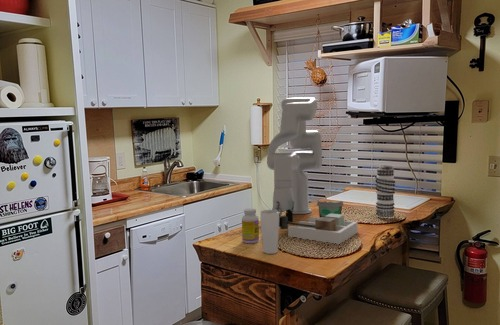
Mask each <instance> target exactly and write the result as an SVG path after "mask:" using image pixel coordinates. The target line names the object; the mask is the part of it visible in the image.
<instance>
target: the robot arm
mask: <svg viewBox="0 0 500 325" xmlns="http://www.w3.org/2000/svg"><path fill="white" fill-rule="evenodd" d="M280 107H281V110H282V111H281V120H280V128H279V132H278V133H277V134H276V135H275V136H274V137H273V139H272V140H271V141H270V142H269V145H268V149H267V155H266V164H267V168H268V169H270V170H272V171H273V173H274V174H273V175H274V176H273V177H274V178H273V179H274V181H273V182H274V188H273V195H272V196H273V197H272V209H271V210H277V211H279V228H280V227H282V217H281V216H283V213H284V212H285V216H287V217H288V222H291V223H294V215H307V214H310V213H312V209H311V208H310V207H309V205H310V204H309V199H310V198H309V178H308V175H307V174H306V173H305V171H317V170H320V169H321V168H322V167H323V166H322V165H323V146H322V143H323V142H322V135H321V132H320V131H318V130H314V129H311V130H308V129H307V121H311V120H312V121H313V119H314V117H315V115H316V113H317V110H318V101H317V99H316V98H315V97H311V96H309V97H306V96H305V97H287V98H284V99H283V100H282V101H281V106H280ZM288 142H289V144H290V147H291V148H292V149H294V150H296V151H292V152H276V150H277V149H278V148H279V147H280V146H282V145H284V144H285V143H288ZM297 150H306V151H297ZM307 150H308V151H307ZM309 150H311V151H309Z"/></svg>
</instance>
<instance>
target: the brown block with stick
mask: <svg viewBox="0 0 500 325" xmlns="http://www.w3.org/2000/svg"><path fill="white" fill-rule="evenodd" d="M281 217H282V227H279V230H280V229H281V230H288V226H289V225H291V226H298V227H299V226H307V227H315V229H320V230H327V231H335V232H336V225H335V219H334V218H326V217H321V218H320V217H319V219H317V220H315V225H307V224H299V222H288V217H287V216H286V215H281Z"/></svg>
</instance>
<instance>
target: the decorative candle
mask: <svg viewBox="0 0 500 325" xmlns="http://www.w3.org/2000/svg"><path fill="white" fill-rule="evenodd" d="M394 170H395V168H393V166H392V165H388V164H387V165H386V164H385V165H383V164H382V165H378V167H377V168H376V171H377V172H376V177H374V179H375V180H374V181H375V183H376V184H375V190H376V191H375V193H376V202H375V205H376V206H375V208H376V209H375V216H379V217H387V218H388V217H393V216H394V217H395V199H394V195H395V193H396V192H395V190H396V189H395V188H394V187H395V186H396V181H395V180H394V179H395V175H394V174H395V171H394Z"/></svg>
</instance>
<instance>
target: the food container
mask: <svg viewBox="0 0 500 325" xmlns="http://www.w3.org/2000/svg"><path fill="white" fill-rule="evenodd" d="M316 206H317V207H318V213H319V214H318V215H319V218H321V217H325V216H326V215H328V214H330V213H332V214H341V215H342V210H343V206H344V201H343V200H340V201H338V202H336V201H319V200H317V202H316Z"/></svg>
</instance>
